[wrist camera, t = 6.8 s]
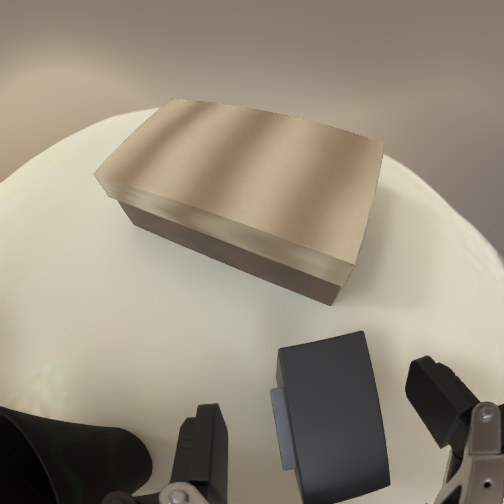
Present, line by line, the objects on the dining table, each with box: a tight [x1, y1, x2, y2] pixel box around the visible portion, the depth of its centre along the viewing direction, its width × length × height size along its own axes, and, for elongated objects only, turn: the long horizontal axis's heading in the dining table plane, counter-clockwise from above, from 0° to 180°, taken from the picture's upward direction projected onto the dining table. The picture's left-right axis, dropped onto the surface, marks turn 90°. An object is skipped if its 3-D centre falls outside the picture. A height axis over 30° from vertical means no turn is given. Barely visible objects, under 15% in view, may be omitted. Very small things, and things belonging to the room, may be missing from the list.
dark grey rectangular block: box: [270, 331, 390, 504], centre depth 12 cm, size 3×6×12 cm, turn 8°
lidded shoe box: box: [94, 99, 385, 306], centre depth 22 cm, size 20×11×8 cm, turn 64°
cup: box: [0, 406, 152, 504], centre depth 10 cm, size 8×8×12 cm
